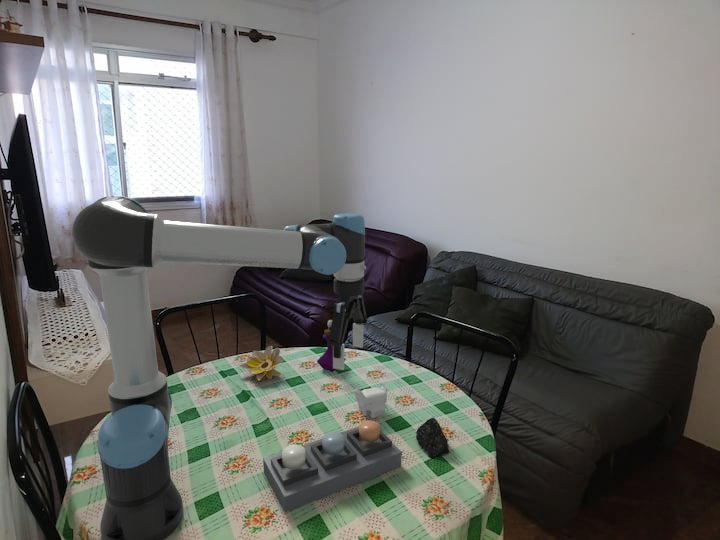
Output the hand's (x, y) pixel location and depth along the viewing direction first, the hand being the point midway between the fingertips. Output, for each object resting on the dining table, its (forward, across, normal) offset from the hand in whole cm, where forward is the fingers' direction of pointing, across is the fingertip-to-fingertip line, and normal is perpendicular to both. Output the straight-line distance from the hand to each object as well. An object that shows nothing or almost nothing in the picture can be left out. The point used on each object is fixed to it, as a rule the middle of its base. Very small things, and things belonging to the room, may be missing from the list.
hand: (348, 357), depth 114 cm
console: (+23, -14, -1) cm, 27 cm away
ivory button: (+17, -21, +5) cm, 28 cm away
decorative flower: (+23, +22, +41) cm, 52 cm away
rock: (+24, +5, -22) cm, 33 cm away
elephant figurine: (+24, +13, -2) cm, 27 cm away
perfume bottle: (+24, +34, +20) cm, 46 cm away
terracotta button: (+17, -6, -8) cm, 20 cm away
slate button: (+17, -13, -1) cm, 22 cm away
